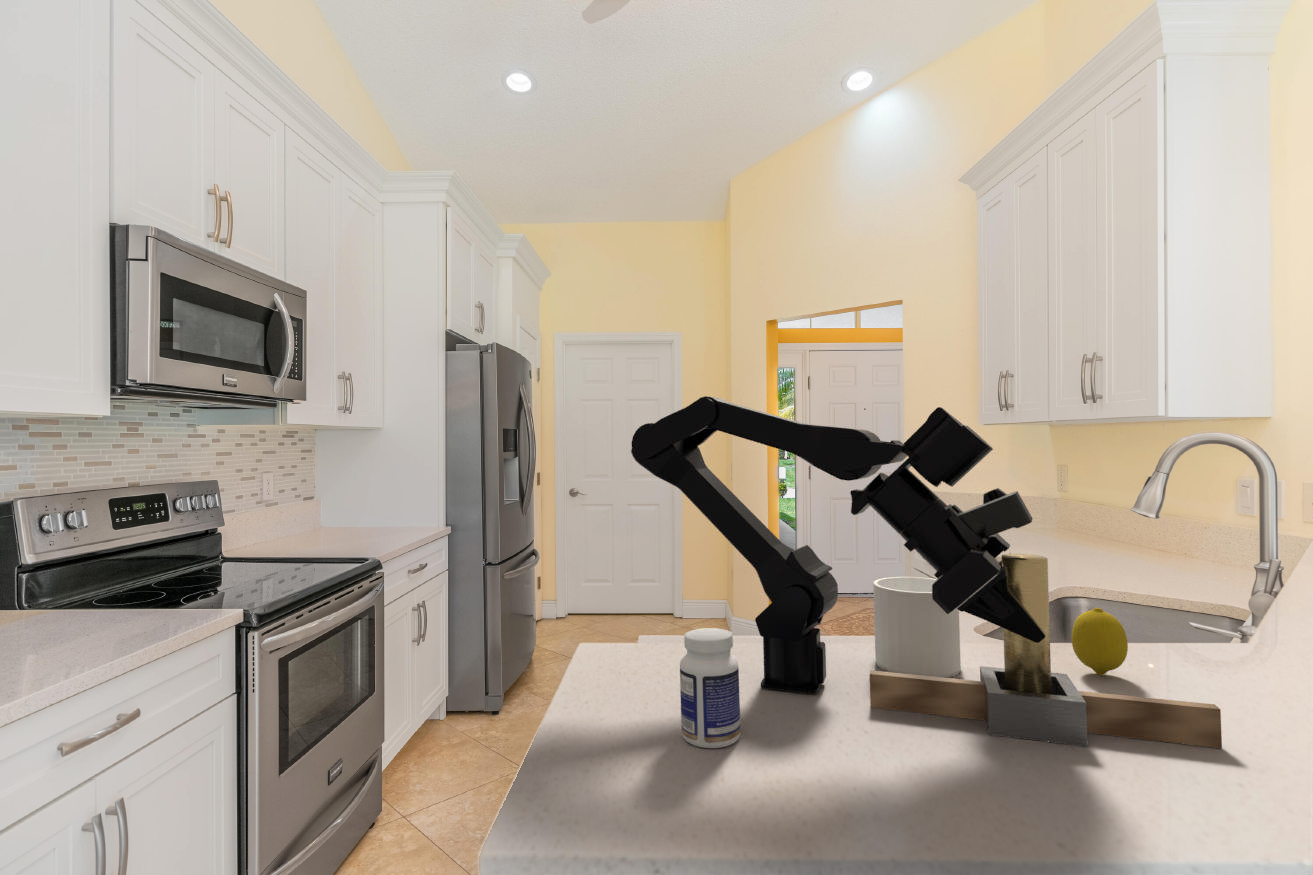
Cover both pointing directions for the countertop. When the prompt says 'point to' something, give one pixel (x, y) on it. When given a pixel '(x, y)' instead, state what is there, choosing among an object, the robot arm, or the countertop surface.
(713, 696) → the pill bottle
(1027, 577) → the hinge pin
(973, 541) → the robot arm
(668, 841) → the countertop surface
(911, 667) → the mug
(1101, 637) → the lemon
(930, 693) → the hinge leaves
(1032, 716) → the gray square planter
